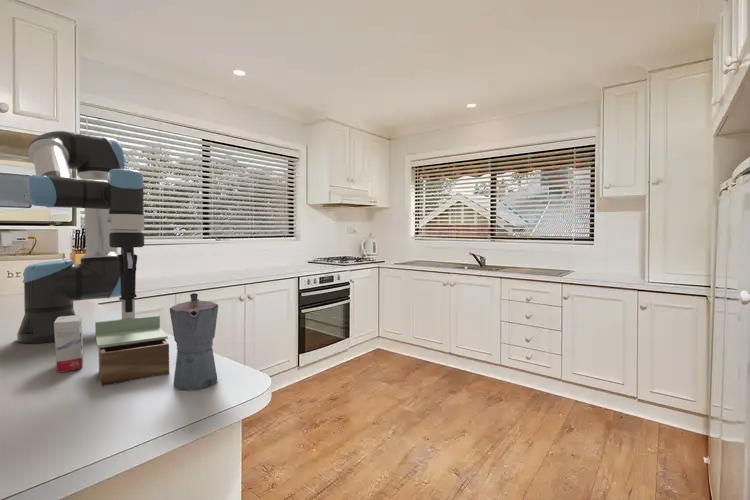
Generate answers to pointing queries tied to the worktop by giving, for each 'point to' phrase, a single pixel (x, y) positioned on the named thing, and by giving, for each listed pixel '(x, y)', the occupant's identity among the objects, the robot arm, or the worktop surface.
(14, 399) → the worktop surface
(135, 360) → the walnut box
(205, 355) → the moka pot
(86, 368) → the worktop surface
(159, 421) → the worktop surface
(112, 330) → the lid
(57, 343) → the ink box
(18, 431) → the worktop surface
